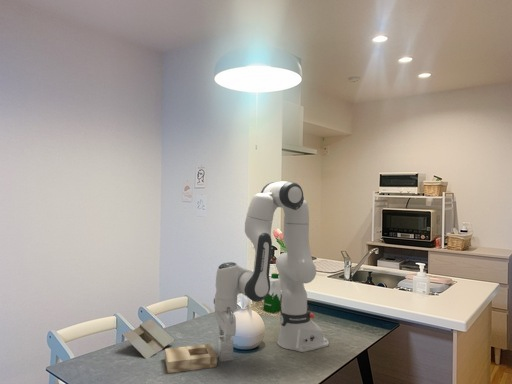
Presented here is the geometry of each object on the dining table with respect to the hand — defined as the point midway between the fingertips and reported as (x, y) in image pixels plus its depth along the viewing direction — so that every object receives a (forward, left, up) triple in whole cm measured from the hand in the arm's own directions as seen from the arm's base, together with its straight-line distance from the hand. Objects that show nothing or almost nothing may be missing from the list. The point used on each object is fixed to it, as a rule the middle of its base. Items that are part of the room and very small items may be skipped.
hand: (224, 339), depth 150 cm
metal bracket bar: (-1, 0, -8) cm, 8 cm away
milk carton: (-40, -51, -8) cm, 65 cm away
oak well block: (+13, 0, -8) cm, 15 cm away
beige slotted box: (+28, -18, -8) cm, 34 cm away
